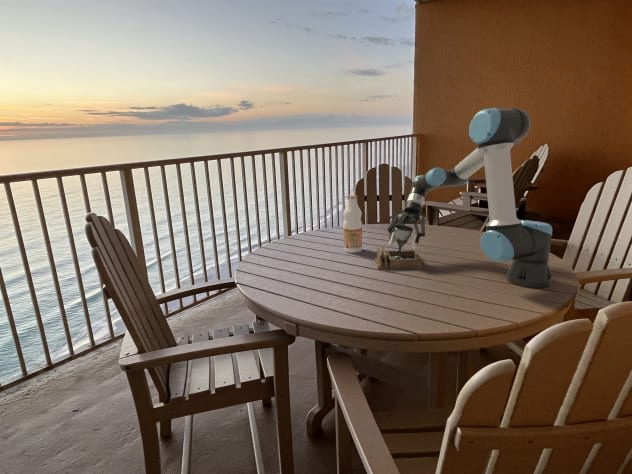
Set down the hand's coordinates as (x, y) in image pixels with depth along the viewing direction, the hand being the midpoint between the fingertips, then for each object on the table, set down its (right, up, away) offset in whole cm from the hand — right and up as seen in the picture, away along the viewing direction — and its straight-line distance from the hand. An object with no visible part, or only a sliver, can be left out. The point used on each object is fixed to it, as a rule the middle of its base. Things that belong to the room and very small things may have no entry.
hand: (401, 247), depth 165 cm
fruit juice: (-18, -2, +27) cm, 33 cm away
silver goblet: (0, -5, +6) cm, 8 cm away
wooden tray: (-1, -7, +5) cm, 9 cm away
